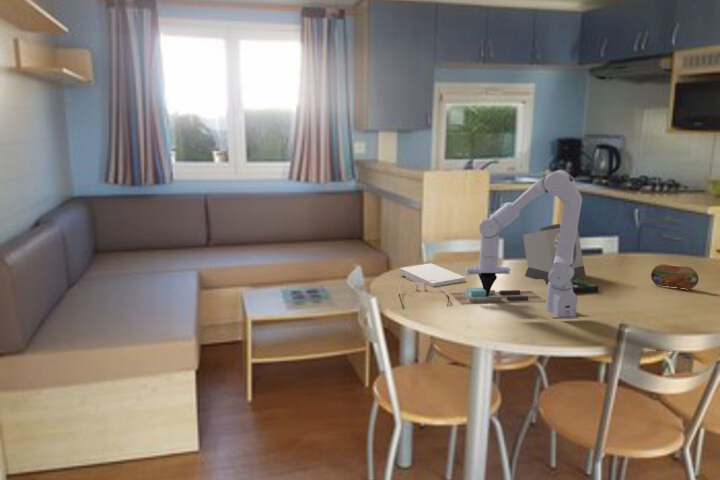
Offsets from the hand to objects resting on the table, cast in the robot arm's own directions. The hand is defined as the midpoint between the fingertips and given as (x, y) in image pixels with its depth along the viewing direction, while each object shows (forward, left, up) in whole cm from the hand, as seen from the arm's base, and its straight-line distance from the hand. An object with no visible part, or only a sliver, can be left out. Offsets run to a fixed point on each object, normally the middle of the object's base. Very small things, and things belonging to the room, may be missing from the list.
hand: (486, 295), depth 186 cm
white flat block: (+26, +11, -3) cm, 28 cm away
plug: (0, +3, -1) cm, 4 cm away
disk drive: (+10, -36, -3) cm, 37 cm away
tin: (+9, -75, -2) cm, 76 cm away
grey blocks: (0, -10, -1) cm, 10 cm away
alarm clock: (+28, -38, -2) cm, 47 cm away
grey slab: (0, +2, -1) cm, 2 cm away
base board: (0, -4, -2) cm, 5 cm away
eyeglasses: (+2, +21, -3) cm, 21 cm away
